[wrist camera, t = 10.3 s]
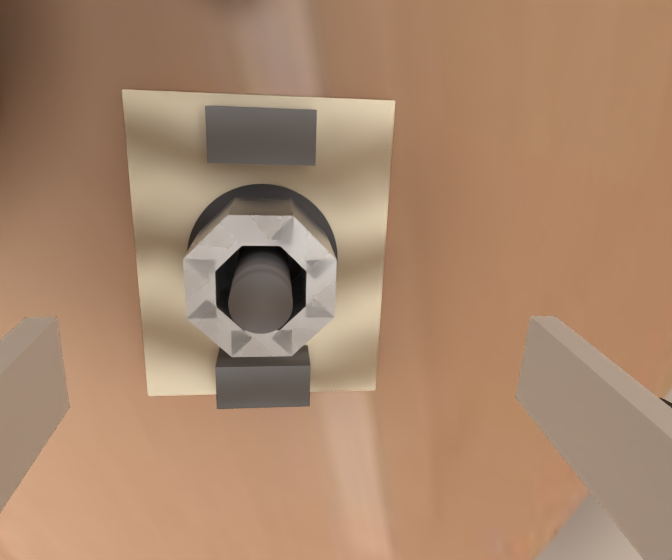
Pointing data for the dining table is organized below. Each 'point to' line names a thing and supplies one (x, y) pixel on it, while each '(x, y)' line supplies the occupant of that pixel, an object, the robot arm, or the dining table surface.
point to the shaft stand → (258, 261)
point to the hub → (215, 284)
